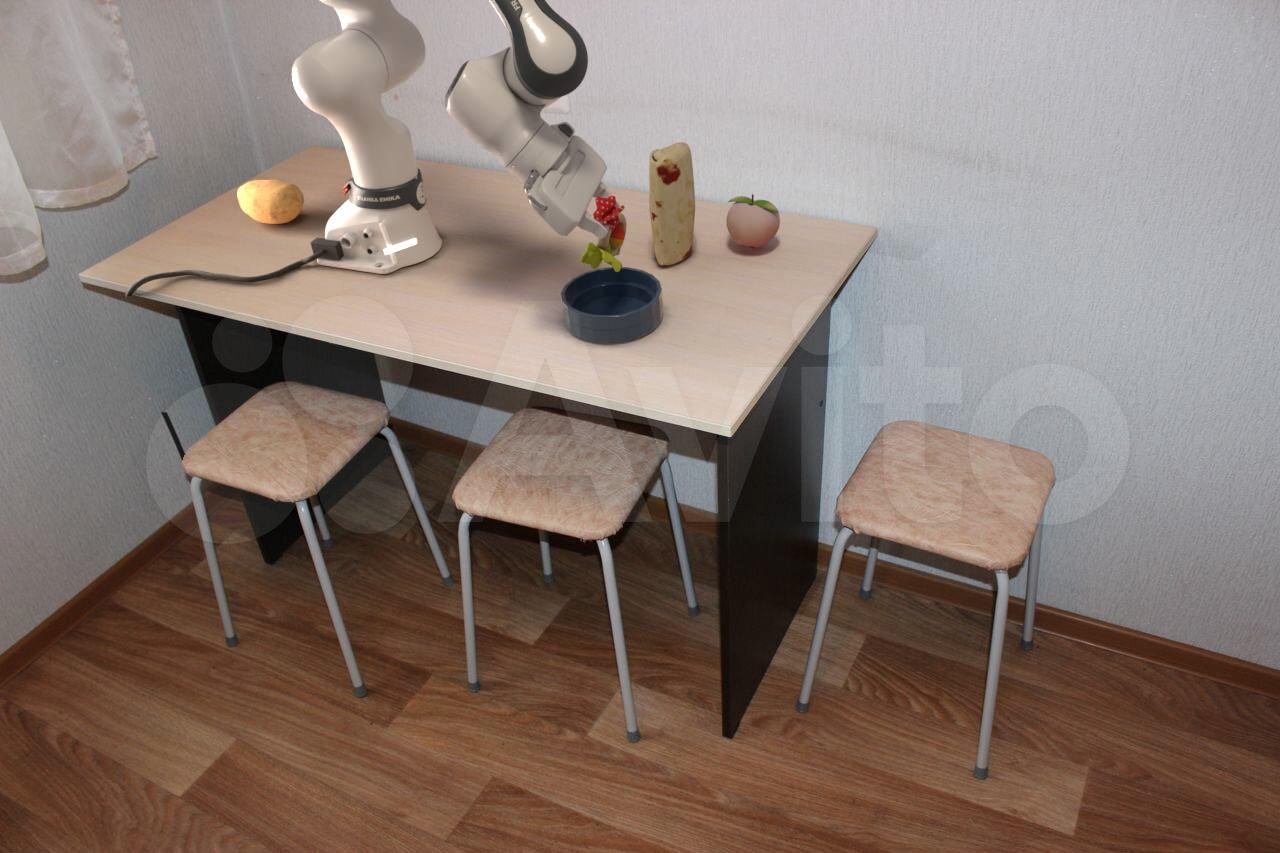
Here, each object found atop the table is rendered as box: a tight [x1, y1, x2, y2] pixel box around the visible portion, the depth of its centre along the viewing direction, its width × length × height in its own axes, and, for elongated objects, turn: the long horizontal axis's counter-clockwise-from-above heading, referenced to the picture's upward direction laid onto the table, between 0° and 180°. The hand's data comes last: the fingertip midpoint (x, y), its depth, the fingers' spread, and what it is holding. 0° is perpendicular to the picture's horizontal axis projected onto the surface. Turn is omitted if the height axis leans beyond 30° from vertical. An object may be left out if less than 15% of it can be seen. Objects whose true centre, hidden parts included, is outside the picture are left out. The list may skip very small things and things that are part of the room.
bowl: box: [560, 266, 664, 344], centre depth 163 cm, size 16×16×5 cm
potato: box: [236, 179, 305, 225], centre depth 200 cm, size 10×14×8 cm
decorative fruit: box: [726, 193, 781, 249], centre depth 177 cm, size 9×8×10 cm
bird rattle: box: [579, 195, 627, 272], centre depth 156 cm, size 6×11×9 cm
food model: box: [648, 141, 696, 266], centre depth 174 cm, size 10×7×20 cm
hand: (611, 222), depth 155 cm, fingers closed on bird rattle, 6 cm apart
